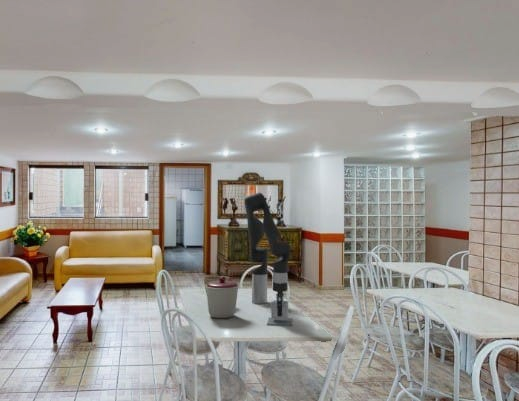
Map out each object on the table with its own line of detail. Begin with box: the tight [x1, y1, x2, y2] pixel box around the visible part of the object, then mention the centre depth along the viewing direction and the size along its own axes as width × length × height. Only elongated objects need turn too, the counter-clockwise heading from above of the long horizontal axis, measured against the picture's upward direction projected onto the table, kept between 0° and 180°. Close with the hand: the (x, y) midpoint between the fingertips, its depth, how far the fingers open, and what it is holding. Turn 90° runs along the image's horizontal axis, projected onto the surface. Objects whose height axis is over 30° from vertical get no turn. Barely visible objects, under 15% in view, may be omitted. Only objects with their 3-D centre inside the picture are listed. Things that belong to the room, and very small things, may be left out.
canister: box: [204, 275, 240, 319], centre depth 227 cm, size 18×18×21 cm
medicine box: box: [270, 299, 289, 320], centre depth 216 cm, size 8×4×9 cm, turn 71°
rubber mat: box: [266, 317, 293, 327], centre depth 216 cm, size 12×12×1 cm
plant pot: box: [203, 275, 230, 295], centre depth 253 cm, size 15×15×16 cm
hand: (279, 314), depth 216 cm, fingers closed on medicine box, 5 cm apart
